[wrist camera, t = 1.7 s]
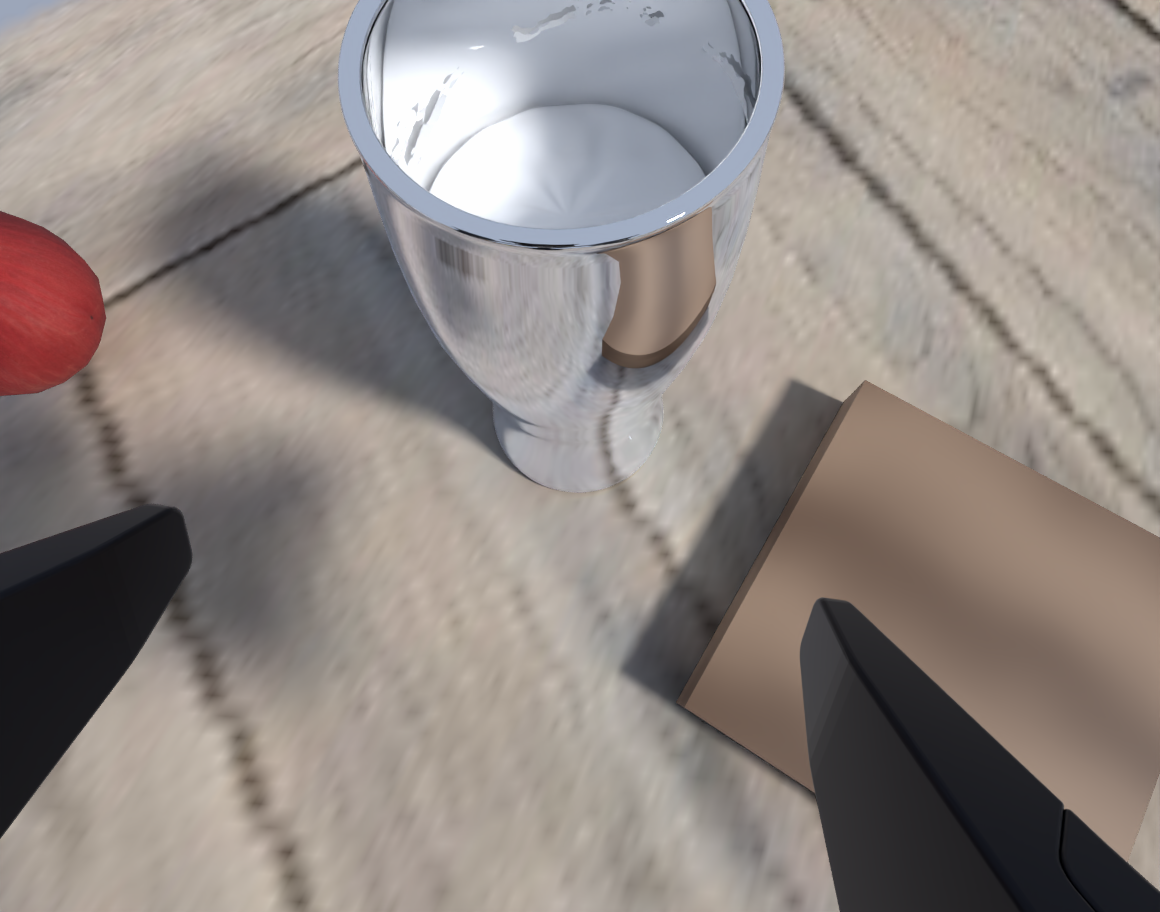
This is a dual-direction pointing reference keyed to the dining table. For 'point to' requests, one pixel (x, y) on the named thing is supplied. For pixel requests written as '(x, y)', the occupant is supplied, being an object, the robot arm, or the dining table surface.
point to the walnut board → (957, 607)
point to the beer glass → (565, 198)
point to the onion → (44, 309)
